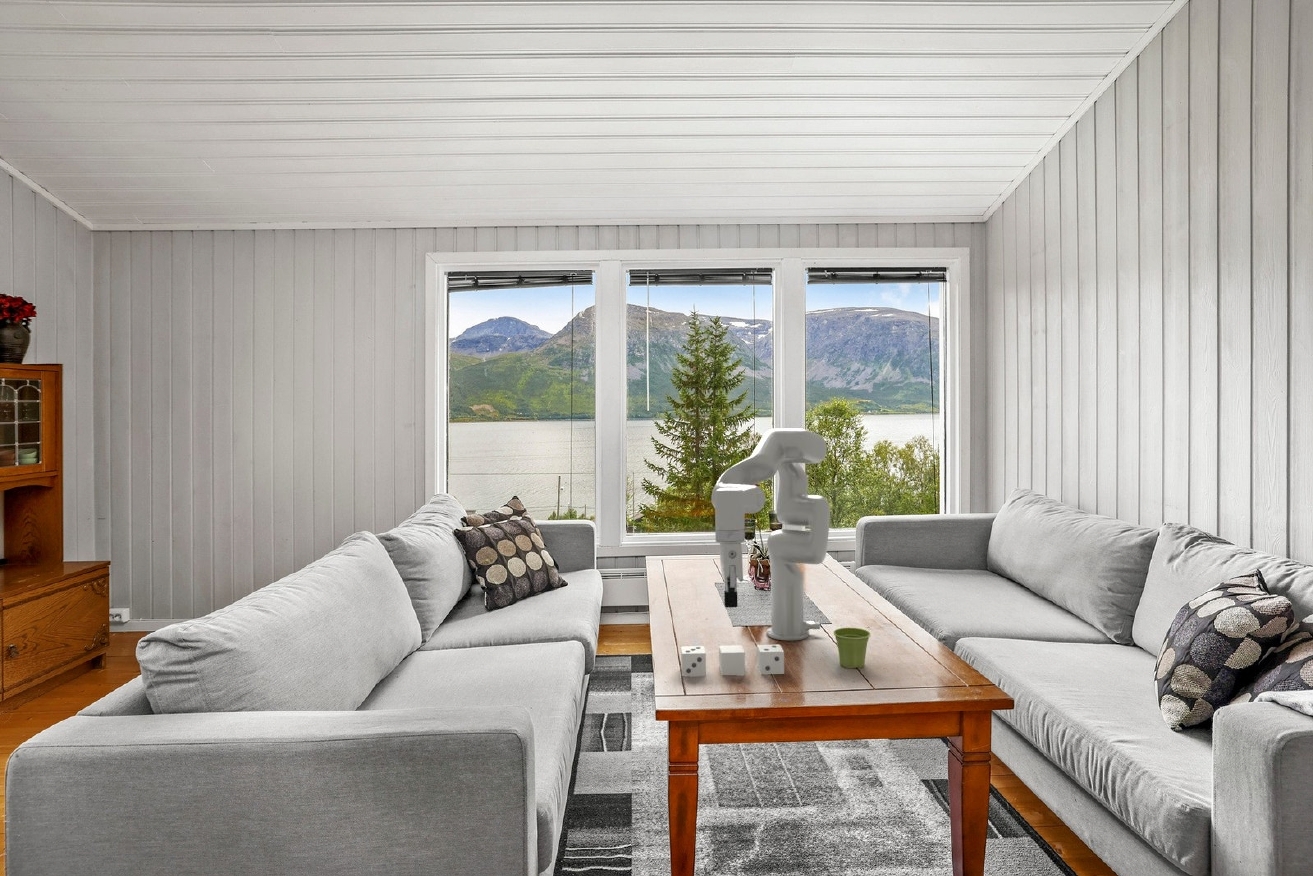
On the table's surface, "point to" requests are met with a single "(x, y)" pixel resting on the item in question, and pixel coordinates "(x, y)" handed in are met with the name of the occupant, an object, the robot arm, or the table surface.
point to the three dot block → (693, 661)
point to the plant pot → (852, 646)
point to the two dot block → (770, 659)
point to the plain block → (732, 660)
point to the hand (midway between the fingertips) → (730, 606)
